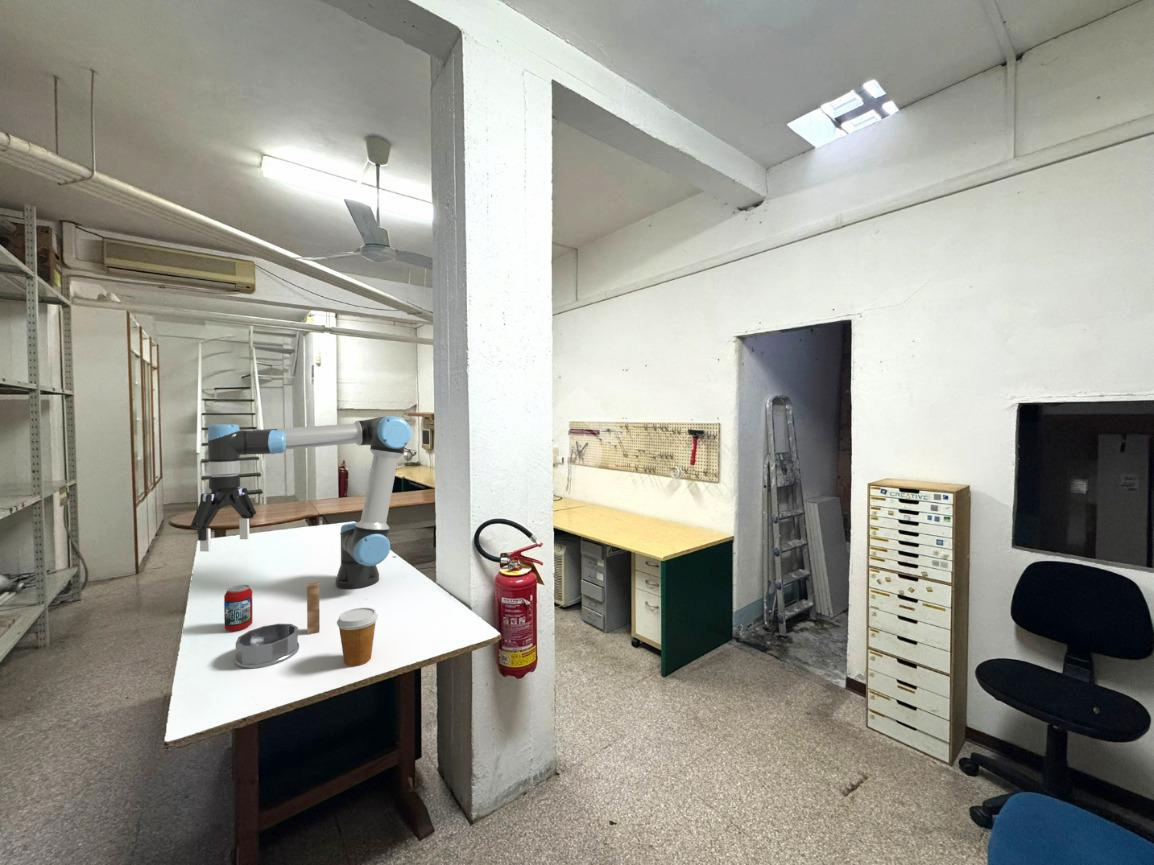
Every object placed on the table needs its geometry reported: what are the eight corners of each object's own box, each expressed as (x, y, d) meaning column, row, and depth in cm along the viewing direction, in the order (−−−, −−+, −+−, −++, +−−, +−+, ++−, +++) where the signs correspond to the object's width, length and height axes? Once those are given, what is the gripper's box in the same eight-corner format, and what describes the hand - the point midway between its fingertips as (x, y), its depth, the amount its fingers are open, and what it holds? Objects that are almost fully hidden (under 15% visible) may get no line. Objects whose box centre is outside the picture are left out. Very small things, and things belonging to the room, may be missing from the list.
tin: (300, 637, 129) (300, 619, 129) (296, 660, 117) (296, 640, 117) (240, 648, 123) (240, 629, 123) (229, 674, 110) (229, 652, 110)
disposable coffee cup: (346, 651, 122) (346, 607, 121) (383, 650, 122) (382, 606, 122) (330, 670, 112) (329, 622, 112) (370, 669, 113) (369, 621, 113)
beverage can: (222, 634, 131) (221, 593, 131) (227, 625, 137) (226, 586, 137) (250, 629, 134) (250, 589, 134) (254, 621, 140) (254, 582, 140)
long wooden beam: (319, 628, 135) (319, 581, 135) (319, 632, 133) (318, 584, 133) (308, 630, 134) (307, 583, 134) (307, 634, 131) (306, 586, 131)
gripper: (247, 470, 150) (248, 534, 150) (172, 480, 125) (174, 556, 126) (268, 470, 149) (269, 534, 150) (197, 480, 124) (199, 557, 125)
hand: (226, 544), depth 138 cm, fingers open, 13 cm apart
